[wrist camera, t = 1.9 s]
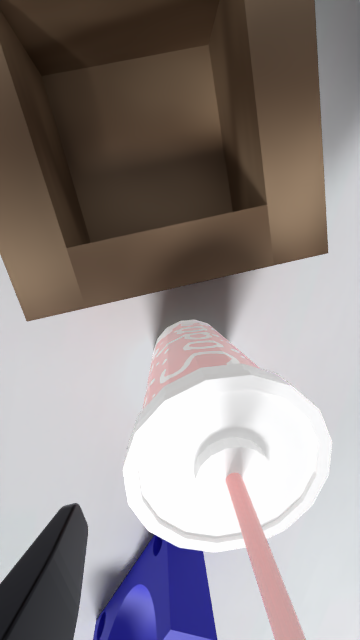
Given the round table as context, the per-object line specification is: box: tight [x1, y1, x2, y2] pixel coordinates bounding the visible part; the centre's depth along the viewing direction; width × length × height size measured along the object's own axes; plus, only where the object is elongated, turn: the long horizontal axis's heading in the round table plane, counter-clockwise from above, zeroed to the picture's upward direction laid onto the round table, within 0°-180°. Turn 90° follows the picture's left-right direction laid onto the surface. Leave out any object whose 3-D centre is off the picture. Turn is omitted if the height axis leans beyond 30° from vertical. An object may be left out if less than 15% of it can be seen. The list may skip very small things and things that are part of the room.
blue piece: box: [93, 535, 217, 640], centre depth 18 cm, size 12×4×6 cm, turn 150°
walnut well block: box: [0, 0, 328, 321], centre depth 10 cm, size 12×12×5 cm
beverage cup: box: [123, 320, 332, 640], centre depth 9 cm, size 6×6×14 cm
